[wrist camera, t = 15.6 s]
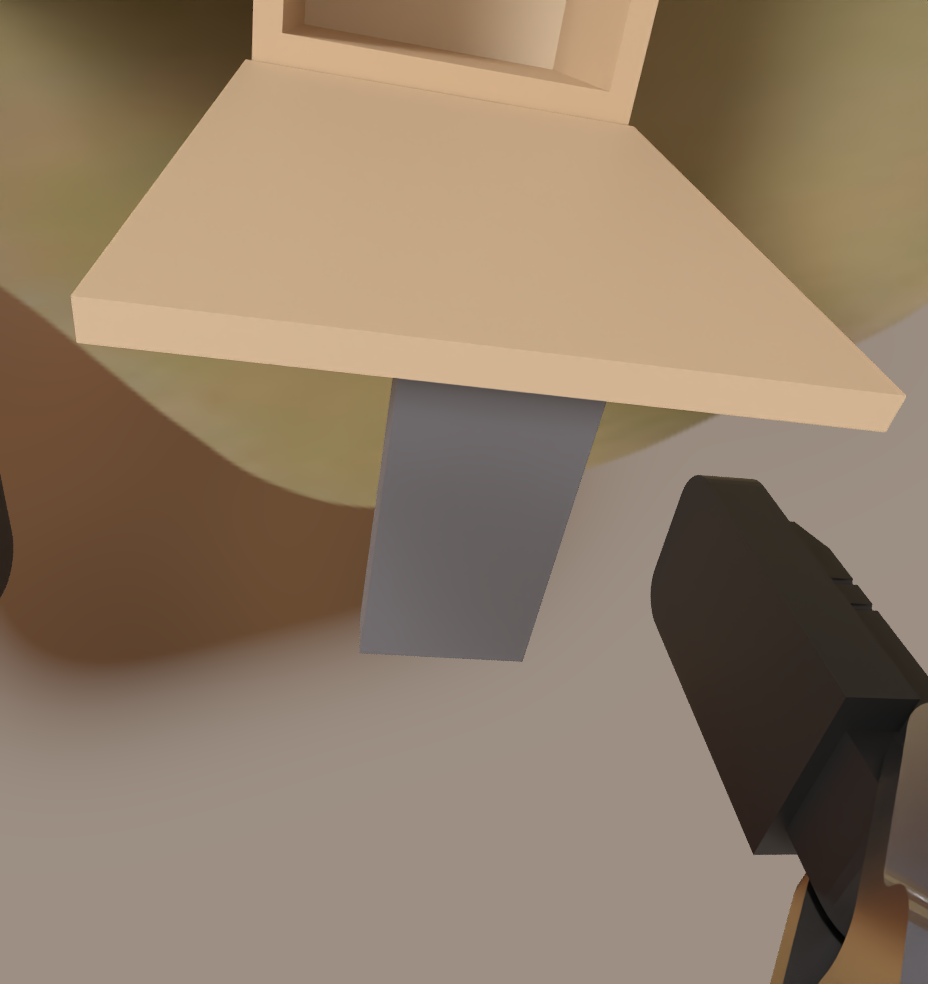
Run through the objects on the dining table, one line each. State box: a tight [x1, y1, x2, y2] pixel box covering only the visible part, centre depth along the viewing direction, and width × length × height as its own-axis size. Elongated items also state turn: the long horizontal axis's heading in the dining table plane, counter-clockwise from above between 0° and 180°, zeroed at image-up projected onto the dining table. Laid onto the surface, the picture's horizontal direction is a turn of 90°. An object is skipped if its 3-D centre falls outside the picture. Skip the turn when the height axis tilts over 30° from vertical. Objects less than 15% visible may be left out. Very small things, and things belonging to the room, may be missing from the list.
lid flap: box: [71, 59, 906, 662], centre depth 24 cm, size 20×14×9 cm
